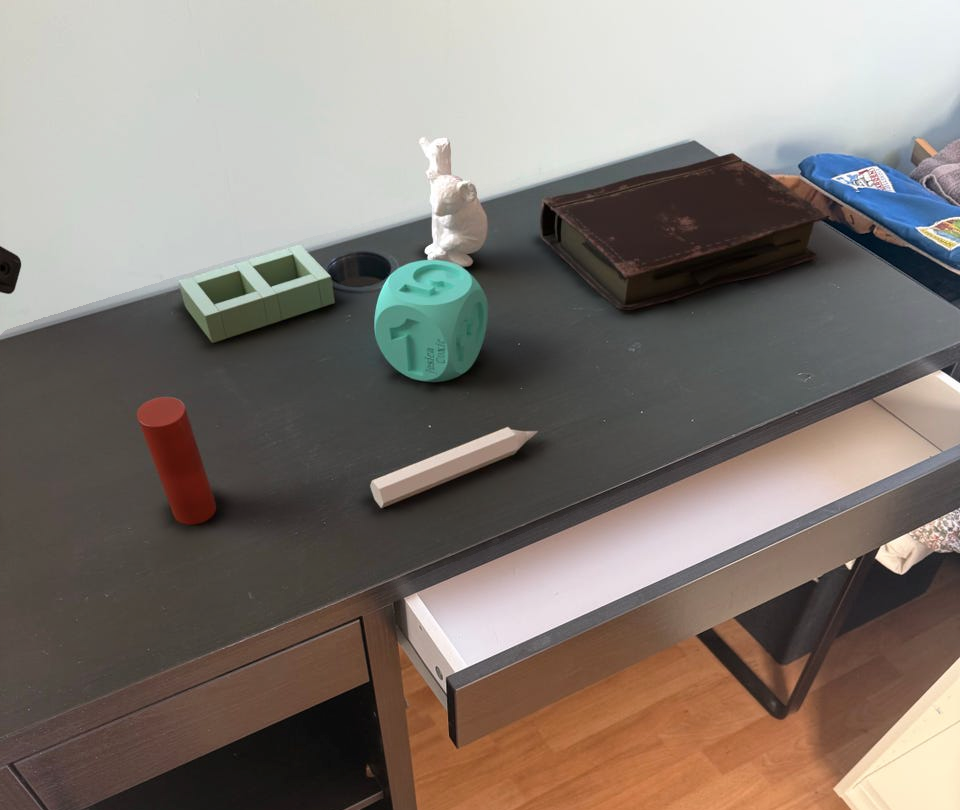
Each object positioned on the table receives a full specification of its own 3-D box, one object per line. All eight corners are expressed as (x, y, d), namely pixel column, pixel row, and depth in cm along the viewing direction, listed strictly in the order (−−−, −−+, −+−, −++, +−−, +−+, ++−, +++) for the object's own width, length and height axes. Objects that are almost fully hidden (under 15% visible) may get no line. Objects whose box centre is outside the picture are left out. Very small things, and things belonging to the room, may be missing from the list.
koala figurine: (405, 252, 100) (397, 138, 90) (457, 236, 102) (455, 122, 93) (444, 287, 95) (441, 171, 86) (498, 269, 98) (500, 154, 88)
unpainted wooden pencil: (538, 446, 80) (379, 510, 75) (527, 426, 81) (368, 488, 75) (548, 434, 78) (385, 499, 73) (537, 413, 78) (373, 476, 73)
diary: (537, 237, 102) (539, 192, 98) (720, 190, 108) (729, 146, 104) (624, 321, 91) (631, 275, 87) (821, 263, 98) (835, 218, 94)
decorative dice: (377, 369, 86) (369, 293, 80) (417, 327, 91) (412, 251, 85) (451, 392, 84) (449, 315, 78) (488, 347, 89) (489, 270, 82)
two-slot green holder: (212, 343, 89) (204, 316, 87) (185, 307, 93) (177, 280, 91) (335, 303, 94) (331, 276, 91) (304, 270, 98) (300, 244, 95)
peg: (164, 517, 74) (126, 419, 66) (189, 491, 76) (155, 392, 68) (200, 529, 73) (166, 431, 65) (224, 502, 75) (194, 403, 67)
